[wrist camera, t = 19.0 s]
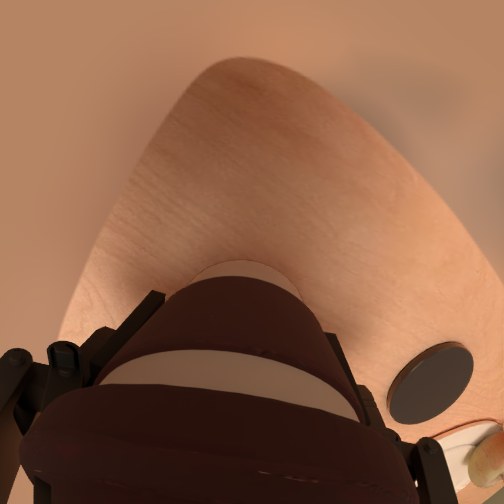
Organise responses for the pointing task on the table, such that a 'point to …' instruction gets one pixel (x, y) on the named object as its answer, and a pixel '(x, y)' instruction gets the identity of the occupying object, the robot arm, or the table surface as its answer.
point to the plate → (464, 448)
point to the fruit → (487, 461)
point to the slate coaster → (430, 383)
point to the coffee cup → (218, 410)
